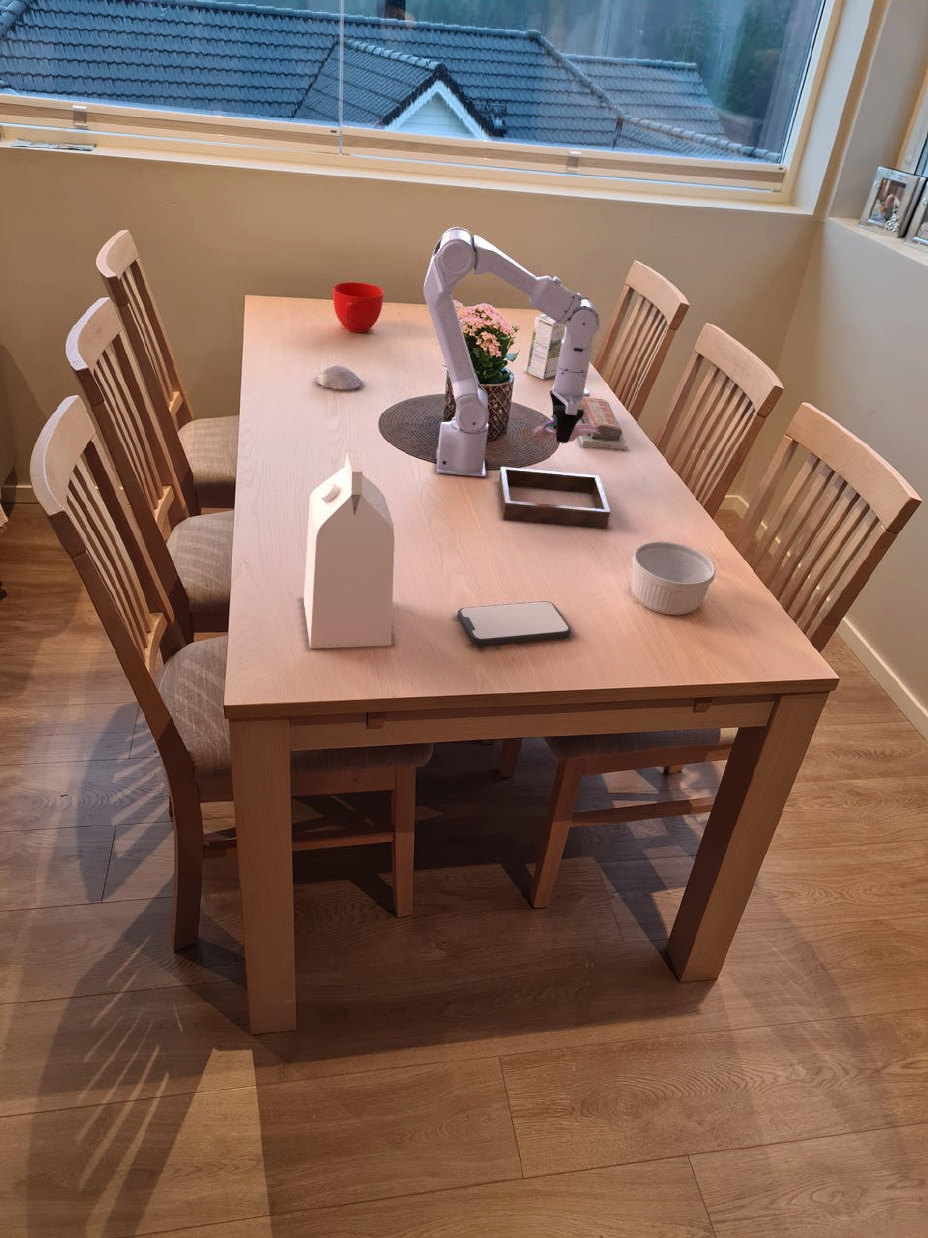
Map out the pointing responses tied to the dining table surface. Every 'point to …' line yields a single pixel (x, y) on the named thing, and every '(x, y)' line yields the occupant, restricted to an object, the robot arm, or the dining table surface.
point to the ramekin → (670, 577)
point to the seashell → (338, 378)
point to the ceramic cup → (357, 305)
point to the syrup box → (545, 347)
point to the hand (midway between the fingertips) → (560, 435)
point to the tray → (548, 511)
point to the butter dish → (600, 425)
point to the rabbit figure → (547, 434)
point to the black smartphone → (513, 623)
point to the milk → (349, 562)
